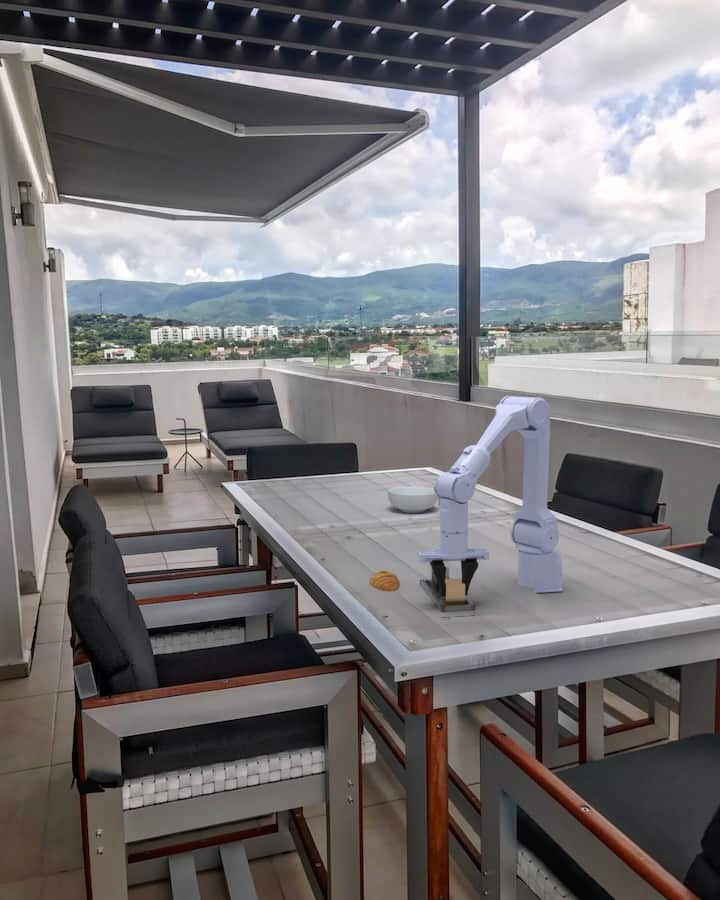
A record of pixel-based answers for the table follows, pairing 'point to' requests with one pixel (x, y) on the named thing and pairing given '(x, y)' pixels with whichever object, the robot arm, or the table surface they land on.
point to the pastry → (385, 581)
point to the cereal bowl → (412, 498)
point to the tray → (438, 601)
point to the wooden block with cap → (454, 592)
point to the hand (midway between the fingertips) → (453, 594)
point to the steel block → (434, 577)
